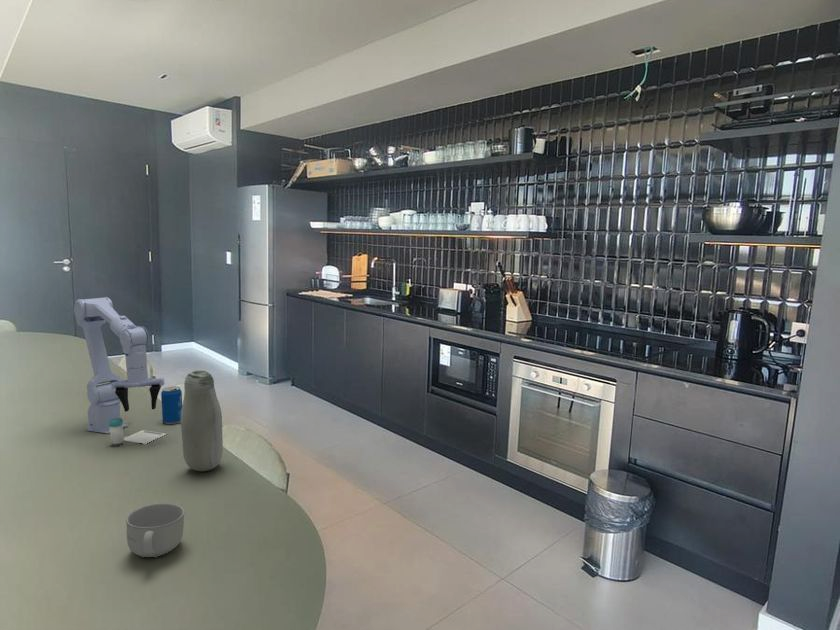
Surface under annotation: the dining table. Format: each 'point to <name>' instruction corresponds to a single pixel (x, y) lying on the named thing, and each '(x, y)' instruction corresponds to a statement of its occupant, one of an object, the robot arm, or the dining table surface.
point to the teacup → (155, 529)
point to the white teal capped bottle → (116, 431)
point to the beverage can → (171, 404)
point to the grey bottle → (201, 422)
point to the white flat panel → (143, 437)
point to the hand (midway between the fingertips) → (140, 409)
